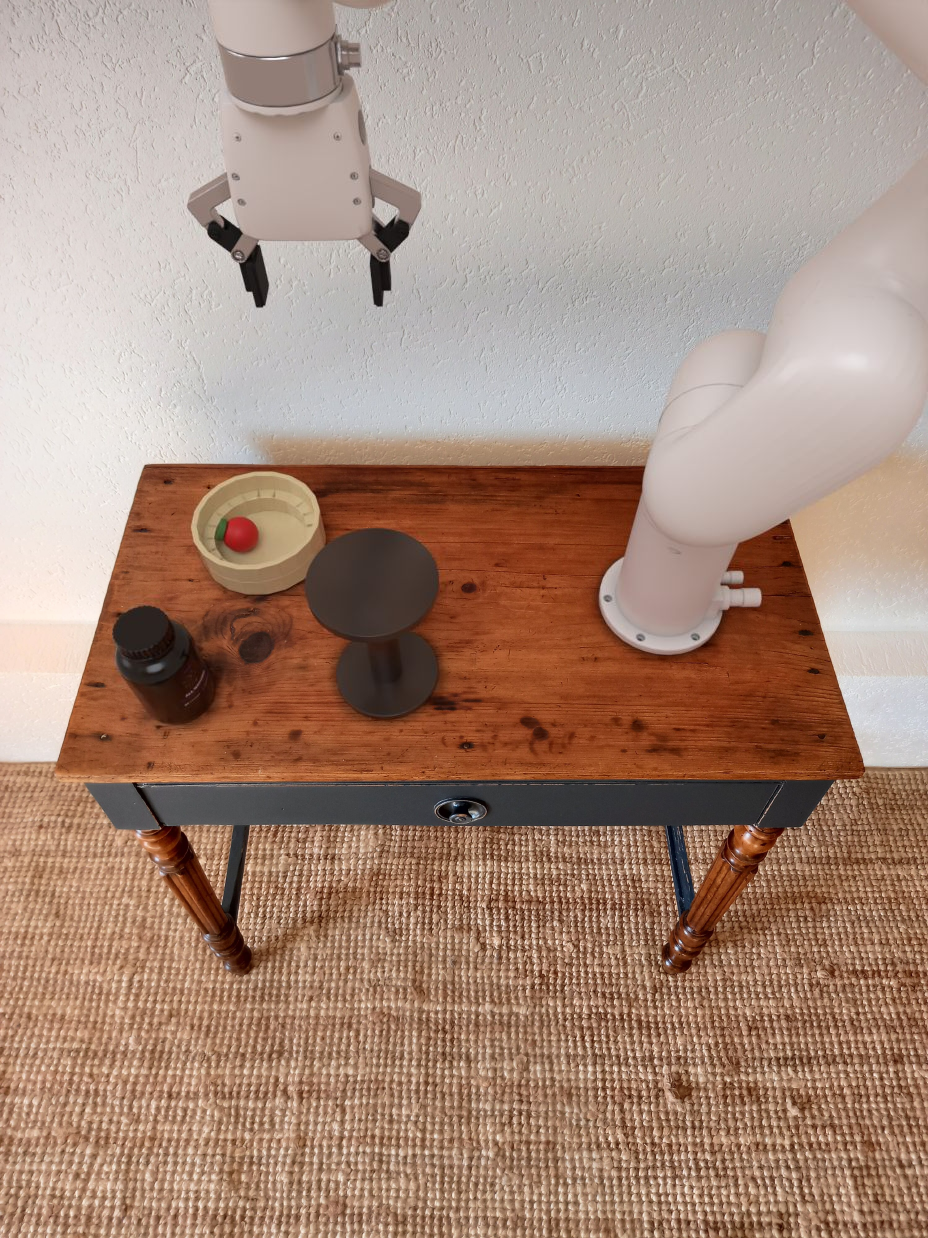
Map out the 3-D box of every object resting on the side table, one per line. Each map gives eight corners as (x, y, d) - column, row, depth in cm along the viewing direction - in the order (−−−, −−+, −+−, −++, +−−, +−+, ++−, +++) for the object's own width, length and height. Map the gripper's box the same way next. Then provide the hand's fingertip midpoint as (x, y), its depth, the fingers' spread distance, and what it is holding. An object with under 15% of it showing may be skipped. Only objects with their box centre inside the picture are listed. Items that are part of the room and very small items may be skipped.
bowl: (330, 501, 91) (324, 470, 87) (320, 596, 84) (313, 568, 80) (214, 502, 91) (202, 471, 87) (195, 598, 84) (181, 569, 80)
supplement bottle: (218, 719, 76) (181, 655, 66) (145, 733, 76) (96, 670, 66) (215, 658, 80) (179, 589, 70) (145, 671, 79) (99, 603, 69)
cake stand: (443, 626, 82) (439, 526, 69) (443, 724, 76) (438, 636, 63) (336, 627, 82) (311, 528, 69) (327, 725, 76) (298, 637, 63)
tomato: (264, 515, 86) (225, 504, 84) (260, 543, 84) (220, 533, 82) (255, 534, 89) (217, 524, 87) (251, 562, 87) (212, 552, 85)
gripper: (416, 37, 54) (426, 268, 68) (159, 39, 54) (223, 270, 68) (413, 91, 50) (425, 325, 64) (135, 92, 50) (209, 326, 64)
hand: (321, 296), depth 66 cm, fingers open, 9 cm apart
